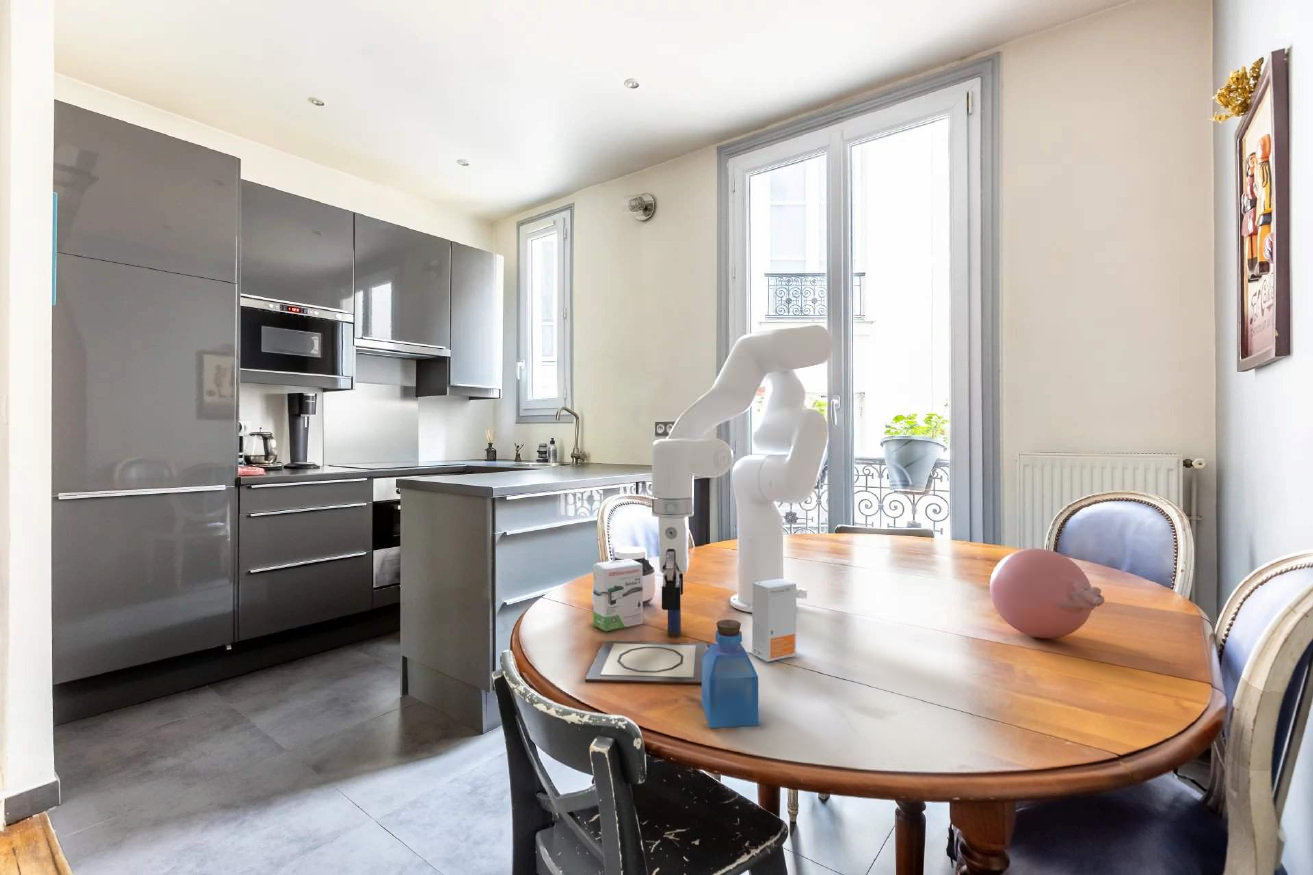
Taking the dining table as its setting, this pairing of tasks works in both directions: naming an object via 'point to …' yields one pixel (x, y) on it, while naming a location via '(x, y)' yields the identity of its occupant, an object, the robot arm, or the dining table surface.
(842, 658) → the dining table surface
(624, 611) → the ink box
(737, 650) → the perfume bottle
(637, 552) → the spread jar
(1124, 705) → the dining table surface
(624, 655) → the drawing board
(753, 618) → the cosmetic box
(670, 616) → the marker
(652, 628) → the dining table surface
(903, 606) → the dining table surface
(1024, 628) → the balloon
